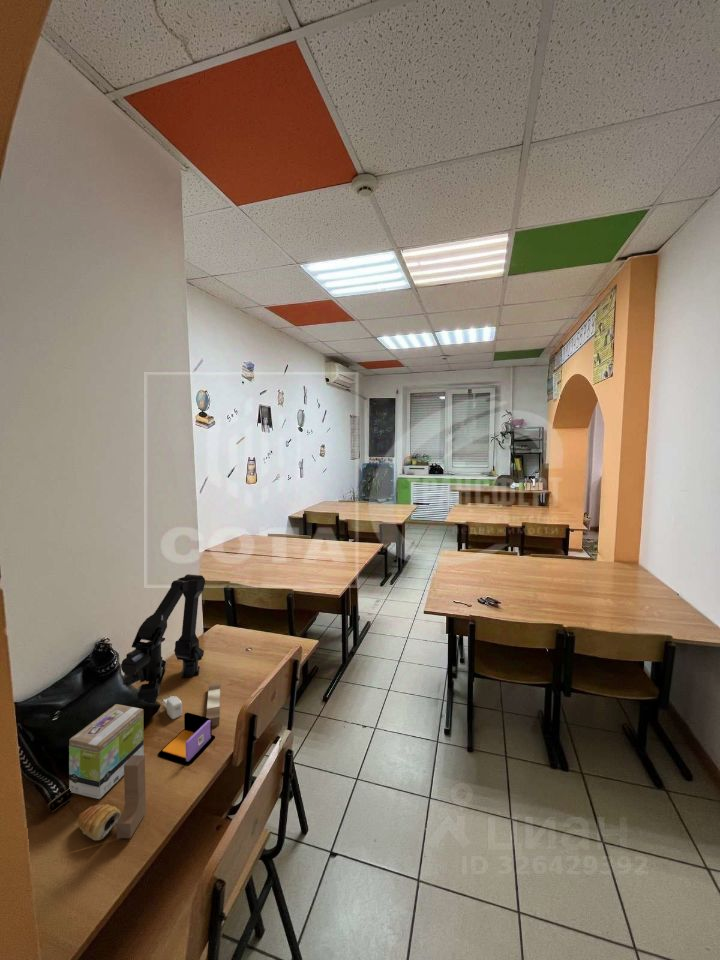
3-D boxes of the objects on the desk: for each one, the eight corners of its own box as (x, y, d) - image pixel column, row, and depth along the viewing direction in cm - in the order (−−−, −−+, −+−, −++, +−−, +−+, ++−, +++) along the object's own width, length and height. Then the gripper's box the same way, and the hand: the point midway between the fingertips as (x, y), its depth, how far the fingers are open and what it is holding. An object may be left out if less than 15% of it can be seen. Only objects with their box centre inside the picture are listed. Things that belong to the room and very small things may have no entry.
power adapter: (159, 708, 132) (159, 693, 131) (172, 702, 135) (171, 688, 134) (171, 721, 125) (170, 706, 125) (184, 715, 128) (184, 700, 128)
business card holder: (217, 737, 119) (216, 717, 118) (189, 767, 107) (188, 745, 107) (185, 728, 122) (185, 708, 122) (155, 756, 111) (155, 734, 111)
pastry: (68, 832, 88) (67, 817, 88) (96, 805, 95) (95, 791, 94) (99, 844, 86) (98, 829, 85) (125, 816, 92) (124, 802, 92)
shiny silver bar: (209, 691, 141) (208, 682, 141) (220, 689, 143) (220, 680, 142) (206, 728, 122) (206, 718, 122) (219, 725, 124) (219, 716, 124)
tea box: (100, 800, 97) (99, 746, 96) (68, 793, 99) (66, 739, 98) (145, 755, 111) (144, 707, 110) (116, 749, 113) (115, 702, 112)
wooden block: (133, 811, 94) (131, 754, 93) (146, 811, 94) (145, 754, 93) (116, 838, 87) (114, 777, 86) (130, 838, 87) (128, 777, 86)
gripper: (131, 649, 136) (132, 690, 137) (117, 678, 119) (118, 725, 120) (166, 644, 140) (166, 684, 141) (157, 672, 122) (158, 718, 124)
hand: (152, 701), depth 131 cm, fingers open, 9 cm apart
